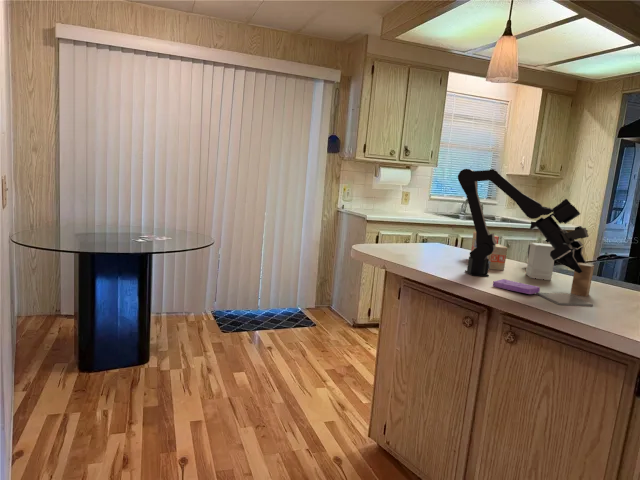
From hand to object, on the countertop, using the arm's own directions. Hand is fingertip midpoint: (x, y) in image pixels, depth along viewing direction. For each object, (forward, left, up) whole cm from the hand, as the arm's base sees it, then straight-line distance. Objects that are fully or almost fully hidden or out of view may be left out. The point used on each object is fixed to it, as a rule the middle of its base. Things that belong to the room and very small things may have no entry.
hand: (584, 270), depth 145 cm
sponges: (-22, +1, -8) cm, 24 cm away
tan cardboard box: (-10, +43, -8) cm, 44 cm away
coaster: (-12, -8, -8) cm, 16 cm away
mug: (+9, +38, -8) cm, 40 cm away
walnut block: (0, 0, -8) cm, 8 cm away
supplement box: (0, +22, -8) cm, 23 cm away
